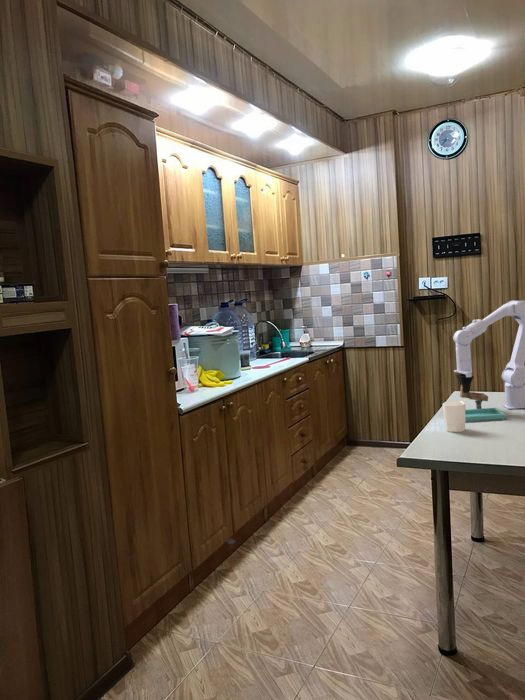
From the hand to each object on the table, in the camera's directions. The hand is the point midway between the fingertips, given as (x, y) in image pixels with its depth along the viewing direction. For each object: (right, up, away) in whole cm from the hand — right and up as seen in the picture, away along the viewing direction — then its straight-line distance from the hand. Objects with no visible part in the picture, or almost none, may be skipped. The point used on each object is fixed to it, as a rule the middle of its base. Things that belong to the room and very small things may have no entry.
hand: (465, 391), depth 228 cm
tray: (+1, -9, -11) cm, 14 cm away
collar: (+3, -3, 0) cm, 4 cm away
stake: (+6, -8, 0) cm, 10 cm away
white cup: (-13, -12, -26) cm, 31 cm away
